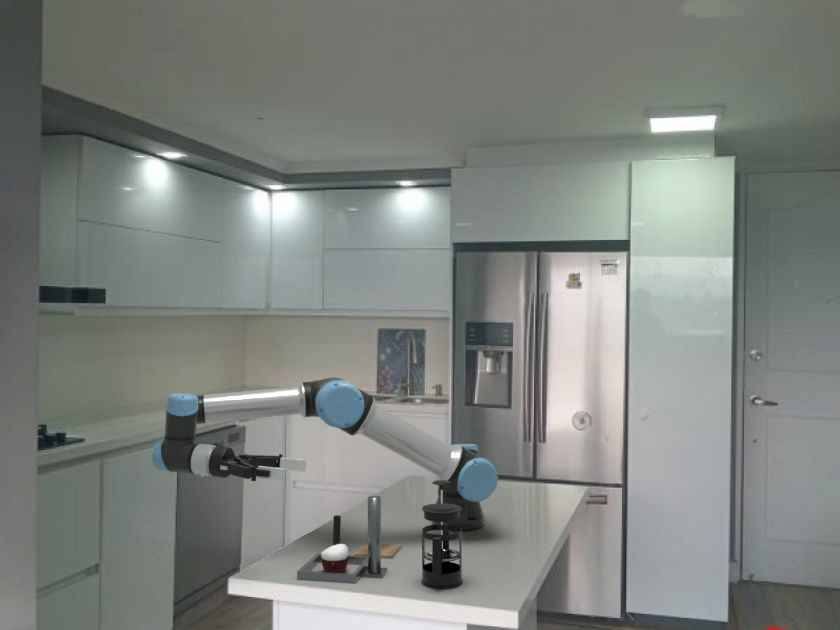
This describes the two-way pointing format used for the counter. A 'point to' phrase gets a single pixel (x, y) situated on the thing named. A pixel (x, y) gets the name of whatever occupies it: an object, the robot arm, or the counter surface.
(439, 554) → the french press
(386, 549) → the walnut coaster
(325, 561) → the cocoa
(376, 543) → the ring stand
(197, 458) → the robot arm
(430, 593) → the counter surface
